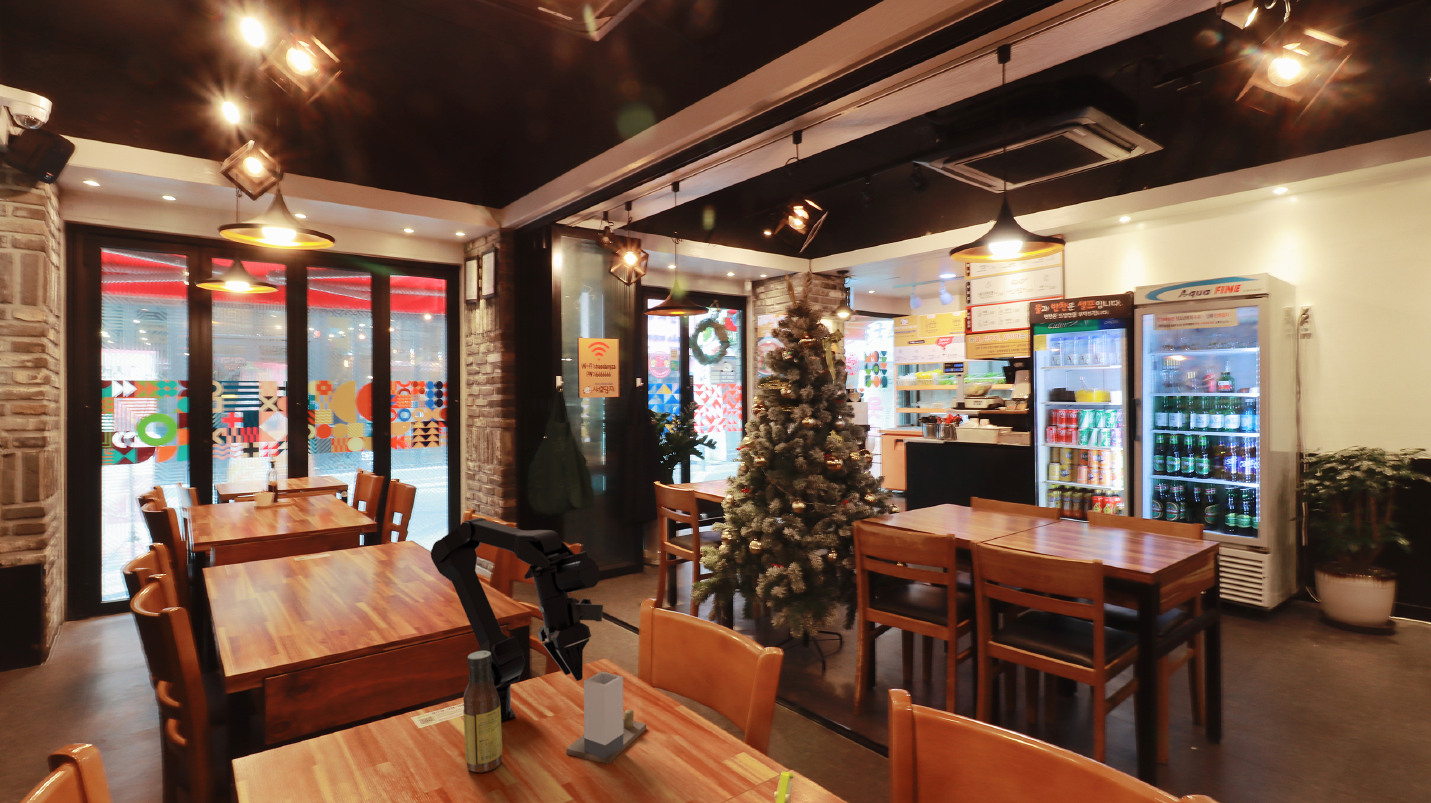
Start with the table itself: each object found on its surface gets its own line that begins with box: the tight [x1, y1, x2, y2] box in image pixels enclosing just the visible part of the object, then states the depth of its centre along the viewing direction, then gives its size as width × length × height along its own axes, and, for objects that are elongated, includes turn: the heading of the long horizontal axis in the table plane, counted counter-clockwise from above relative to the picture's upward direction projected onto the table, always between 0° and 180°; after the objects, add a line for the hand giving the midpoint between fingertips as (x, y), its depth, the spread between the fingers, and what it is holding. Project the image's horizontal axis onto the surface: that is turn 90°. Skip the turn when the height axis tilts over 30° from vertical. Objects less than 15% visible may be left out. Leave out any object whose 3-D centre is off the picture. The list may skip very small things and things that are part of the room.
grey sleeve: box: [583, 670, 624, 759], centre depth 126 cm, size 5×5×13 cm
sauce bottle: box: [462, 650, 503, 774], centre depth 123 cm, size 6×6×20 cm
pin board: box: [565, 709, 647, 765], centre depth 131 cm, size 9×14×4 cm, turn 157°
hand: (573, 677), depth 132 cm, fingers open, 9 cm apart
